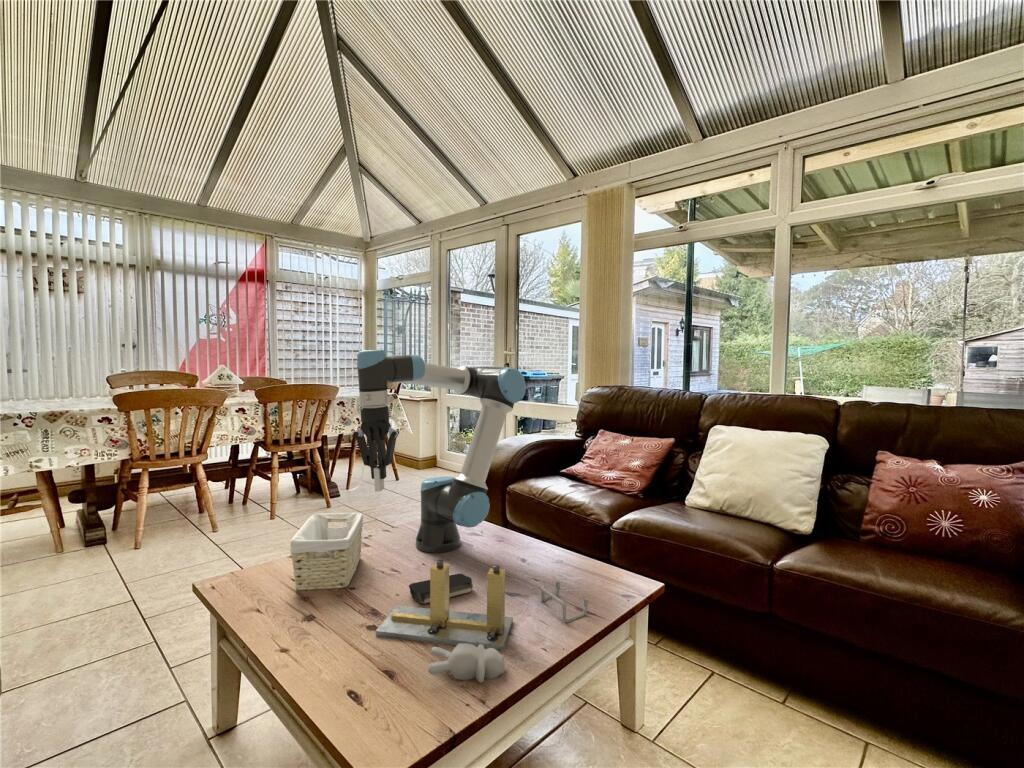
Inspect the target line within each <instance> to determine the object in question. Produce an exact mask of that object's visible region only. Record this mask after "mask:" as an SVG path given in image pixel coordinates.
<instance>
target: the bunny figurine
mask: <svg viewBox="0 0 1024 768" xmlns="http://www.w3.org/2000/svg"><path fill="white" fill-rule="evenodd" d="M430 655H432V656H435V657H439V658H443V659H446V660H443V661H434V662H431V663H429V665H428V671H427V672H428V674H430V675H432V676H434V675H435V676H436V675H439V674H443V673H445V672H448V671H450V673H451V674H452V676H453V677H454V679H456V680H462V681H463V680H464V681H468V680H472V679H474V678H475V679H476V680H477V681H478V683H479V684H481V683H484V682H485V678H486V679H488V680H489V679H490V680H494V679H496V678H498V676H500V675H501V674H504V673H505V668H506V667H505V666H506V665H505V661H504V660H505V657H504V654H501V653H500V652H499V650H496V649H494V648H488V649H485V648H484V645H482V644H479V646H478V647H476V646H474V645H472V644H467V643H460V644H458V645H455V647H454V649H453V650H452V651H449V650H446V649H444V648H442V647H440V646H433V647H432V648H431V650H430Z"/></svg>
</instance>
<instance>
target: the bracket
mask: <svg viewBox="0 0 1024 768" xmlns="http://www.w3.org/2000/svg"><path fill="white" fill-rule="evenodd" d="M540 590H541V591H540V600H541V602H543V603H544V602H545V601H548V600H551V599H552V600H554V601H555V602H556V603H558V604H559V605H560V606H561V609H562V612H561V613H562V616H561V617H562V621H563V622H564V623H569V621H570V622H572V620H573V621H575V620H578V619H580V618H579V617H581V618H583V617H585V616H586V615H587V612H588V608H589V599H588V598H587V597H584V598H583V608H582V609H583V611H581V613H579V614H576V615H572V616H570V617H567V605H566V604H565V602H564V601H563V600H562V599H561V598H559V597H558V596H559V594H560V590H561V581H559V580H556V581H555V592H554V593H552V592H551V591H549V590H548V589H546V588H545V585H544V584H542V585H540ZM584 615H585V616H584ZM582 616H583V617H582ZM577 618H578V619H577Z"/></svg>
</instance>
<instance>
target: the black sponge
mask: <svg viewBox="0 0 1024 768" xmlns="http://www.w3.org/2000/svg"><path fill="white" fill-rule="evenodd" d="M472 579H473V578H472V577H470V576H468V575H465V574H464V573H455V574H449V598H452V597H456V596H459V595H460V596H461V595H464V594H468V593H470V592H472V590H473V589H474V587H473V580H472ZM408 588H409V593H410V595H411V596H412V597H414V598H415V599H416V600H417V601H416V602H418V603H421V604H427V603H429V604H430V579H427V580H422V581H418V582H412V583H410V584H409V585H408Z"/></svg>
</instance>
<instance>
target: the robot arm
mask: <svg viewBox="0 0 1024 768" xmlns="http://www.w3.org/2000/svg"><path fill="white" fill-rule="evenodd" d="M356 357H357V358H356V363H357V364H356V368H357V380H358V391H359V396H358V397H359V406H361V408H360V409H359V410H360V421H361V424H360V428H359V429H357V430H356V431H353V433H352V435H353V437H354V438H355V440H356V442H357V446H358V449H359V452H360V456H361V459H362V460H361V461H362V462H363V465H364V466H368V467H370V475H371V479H372V480H374V481H373V482H374V492H378V493H380V492H382V491H383V490H384V489H385V479H386V478H387V466H389V465H391V464H392V463H393V460H394V453H395V448H396V443H397V438H398V437H399V434H400V431H399V430H398V429H394V428H392V425H391V423H390V411H389V410H390V409H389V406H388V404H389V394H388V384H391V383H403V384H411V385H414V386H415V385H416V386H417V385H418V386H424V387H430V388H437V389H438V388H439V389H446V390H452V391H454V392H455V393H456V394H459V395H460V394H461V395H462V394H463V395H466V396H470V397H474V398H478V399H479V402H480V404H481V409H480V413H479V414H478V415H479V416H478V419H477V421H476V424H475V427H474V430H473V434H472V437H471V439H470V443H469V446H468V449H467V452H466V455H465V458H464V462H463V464H462V467H461V469H460V470H461V471H460V473H459V475H457V476H436V477H429V478H426V479H424V480H423V481H422V482H421V484H420V525H419V528H418V531H417V534H416V537H415V547H416V548H417V549H418V550H419V551H422V552H425V553H432V554H433V553H434V554H435V553H445V552H450V551H453V550H455V549H457V548H459V546H460V544H461V535H460V533H459V529H458V526H460V527H464V528H474V527H477V526H478V525H479V524H481V523H482V522H484V521H485V519H486V518H487V516H488V514H489V512H490V506H491V505H490V504H491V503H490V499H489V496H488V495H487V492H488V490H489V488H488V486H487V483H486V480H487V478H488V474H489V471H490V467H491V465H492V461H493V458H494V454H495V452H496V449H497V446H498V445H497V444H498V442H499V439H500V435H501V433H502V430H503V426H504V423H505V419H506V417H507V414H508V413H510V412H512V411H513V409H514V406H515V404H516V403H519V402H520V401H522V400H523V399H524V396H525V394H526V389H527V386H526V380H525V379H524V376H523V375H524V374H522V372H520V370H518V369H517V368H513V367H509V366H503V367H502V366H476V367H473V366H472V367H469V366H463V365H462V366H459V367H451V366H444V365H441V364H439V365H438V364H434V363H427V362H425V361H424V359H423V358H422V356H420V355H418V354H406V355H405V354H403V355H394V354H393V355H386V351H385V350H384V349H371V350H369V349H368V350H366V349H365V350H359V351H358V353H357V355H356ZM387 435H388V439H386V436H387ZM386 441H387V446H386Z"/></svg>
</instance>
